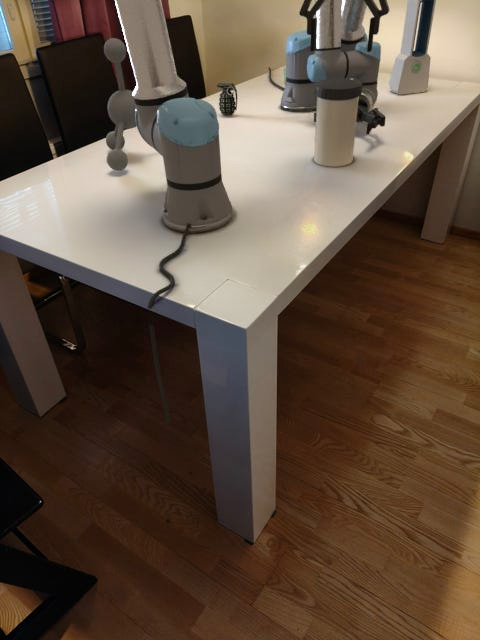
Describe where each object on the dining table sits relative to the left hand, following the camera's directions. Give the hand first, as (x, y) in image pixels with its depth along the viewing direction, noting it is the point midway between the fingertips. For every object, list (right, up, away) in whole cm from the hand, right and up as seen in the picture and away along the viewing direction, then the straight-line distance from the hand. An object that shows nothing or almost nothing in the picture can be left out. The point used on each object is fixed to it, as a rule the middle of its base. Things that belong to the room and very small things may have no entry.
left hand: (340, 50), depth 115 cm
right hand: (+4, -11, +17) cm, 21 cm away
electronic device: (+39, +22, +68) cm, 81 cm away
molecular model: (-52, -17, +25) cm, 60 cm away
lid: (0, -6, +5) cm, 7 cm away
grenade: (-28, +7, +54) cm, 61 cm away
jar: (+1, -21, +16) cm, 26 cm away
